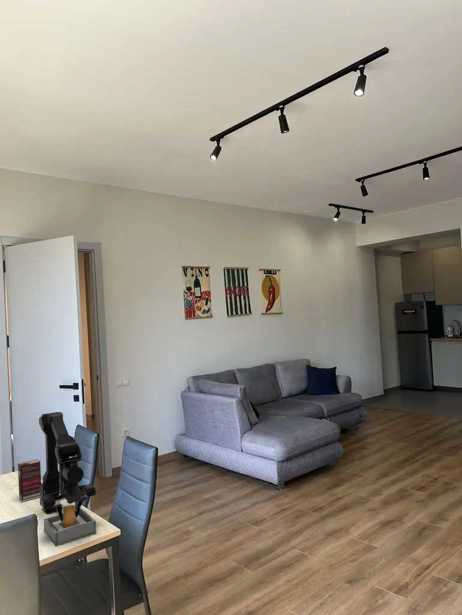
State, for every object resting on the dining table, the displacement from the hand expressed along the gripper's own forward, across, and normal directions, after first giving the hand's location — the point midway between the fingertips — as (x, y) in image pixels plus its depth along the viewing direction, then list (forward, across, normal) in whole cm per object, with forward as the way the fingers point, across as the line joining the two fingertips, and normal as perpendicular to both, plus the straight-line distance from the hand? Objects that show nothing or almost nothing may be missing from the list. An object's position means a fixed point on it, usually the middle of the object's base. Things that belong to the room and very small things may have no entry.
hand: (69, 519), depth 163 cm
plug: (+4, 0, 0) cm, 4 cm away
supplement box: (+5, -3, +46) cm, 46 cm away
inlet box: (+5, 0, 0) cm, 5 cm away
